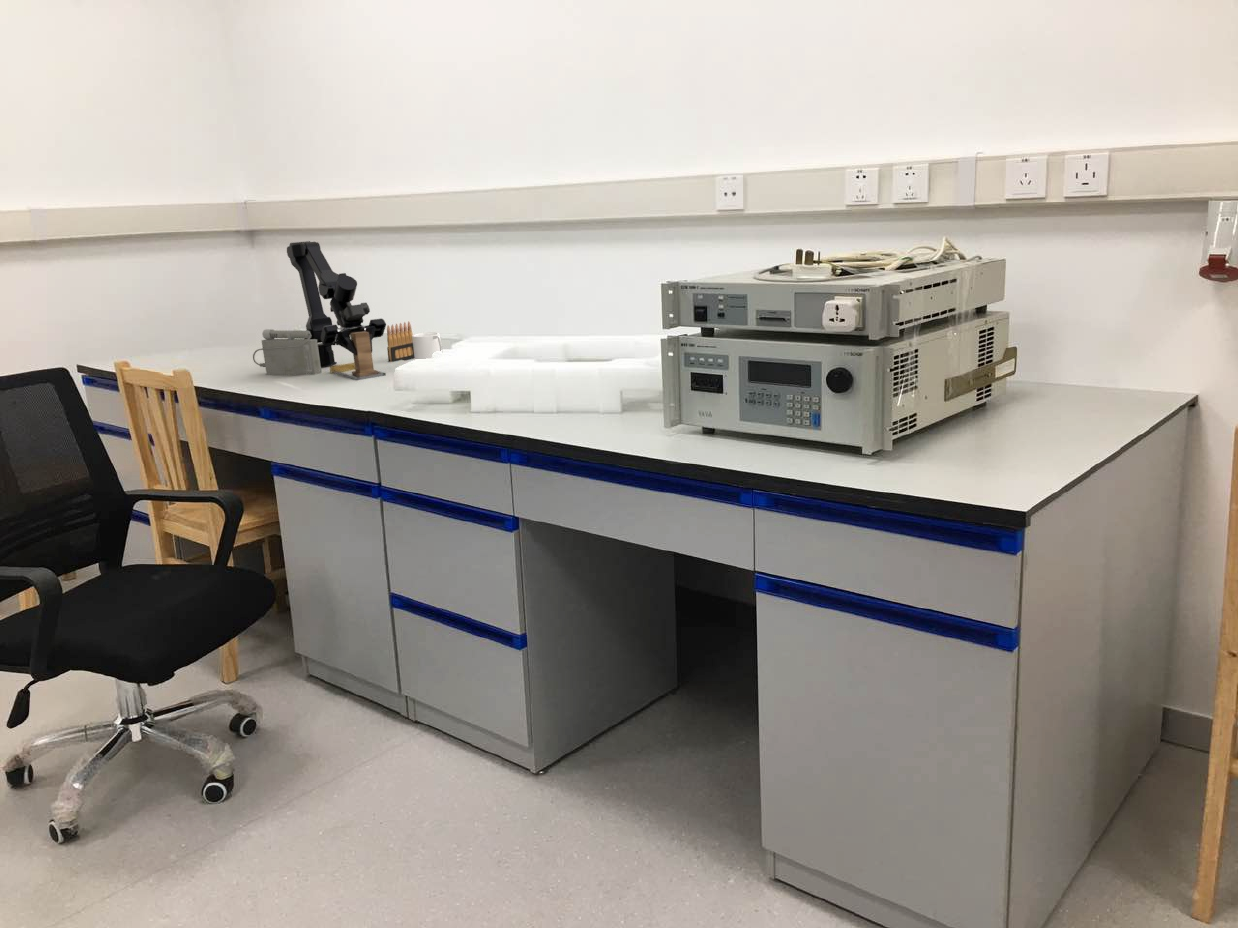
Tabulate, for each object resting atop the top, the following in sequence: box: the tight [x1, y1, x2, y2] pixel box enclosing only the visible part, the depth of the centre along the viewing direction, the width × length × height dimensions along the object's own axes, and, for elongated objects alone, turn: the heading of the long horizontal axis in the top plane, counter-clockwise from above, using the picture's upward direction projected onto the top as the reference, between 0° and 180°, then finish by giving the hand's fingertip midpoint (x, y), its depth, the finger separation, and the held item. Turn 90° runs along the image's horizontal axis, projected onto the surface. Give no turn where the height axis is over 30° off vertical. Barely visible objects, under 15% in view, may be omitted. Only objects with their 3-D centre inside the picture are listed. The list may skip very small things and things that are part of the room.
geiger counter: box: [252, 328, 323, 377], centre depth 309 cm, size 14×6×25 cm
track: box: [329, 362, 387, 381], centre depth 300 cm, size 21×9×2 cm, turn 36°
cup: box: [412, 332, 443, 360], centre depth 305 cm, size 8×12×10 cm
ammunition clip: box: [386, 321, 415, 363], centre depth 322 cm, size 11×2×12 cm, turn 145°
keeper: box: [350, 331, 379, 377], centre depth 294 cm, size 6×6×13 cm
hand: (364, 353), depth 293 cm, fingers closed on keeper, 4 cm apart
